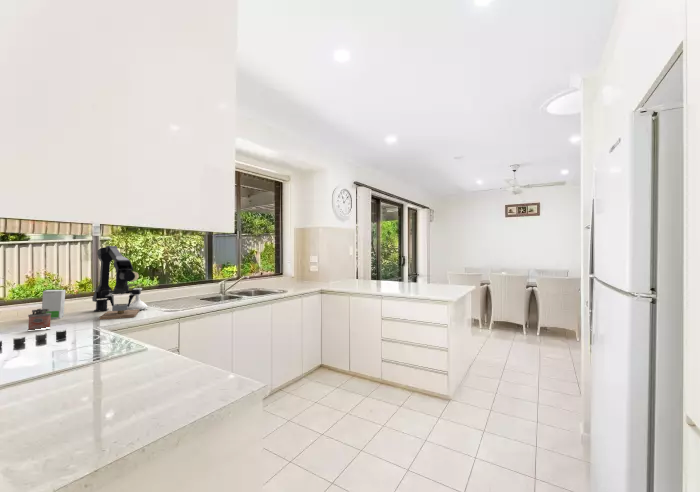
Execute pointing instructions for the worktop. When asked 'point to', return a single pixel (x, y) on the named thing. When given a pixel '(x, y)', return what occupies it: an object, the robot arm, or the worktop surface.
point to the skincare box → (54, 302)
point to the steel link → (120, 307)
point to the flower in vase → (137, 297)
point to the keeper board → (119, 314)
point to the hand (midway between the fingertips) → (120, 306)
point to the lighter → (39, 319)
